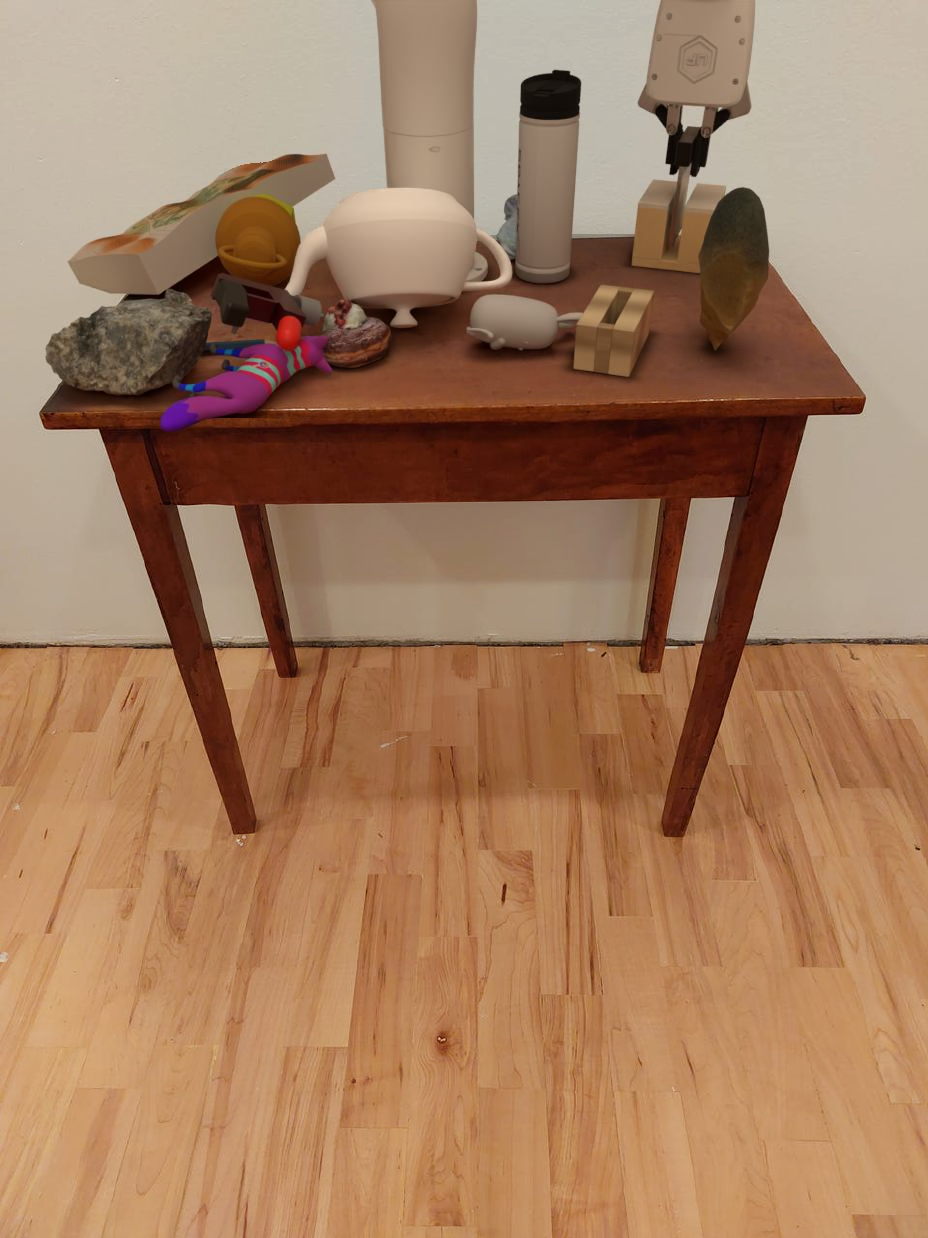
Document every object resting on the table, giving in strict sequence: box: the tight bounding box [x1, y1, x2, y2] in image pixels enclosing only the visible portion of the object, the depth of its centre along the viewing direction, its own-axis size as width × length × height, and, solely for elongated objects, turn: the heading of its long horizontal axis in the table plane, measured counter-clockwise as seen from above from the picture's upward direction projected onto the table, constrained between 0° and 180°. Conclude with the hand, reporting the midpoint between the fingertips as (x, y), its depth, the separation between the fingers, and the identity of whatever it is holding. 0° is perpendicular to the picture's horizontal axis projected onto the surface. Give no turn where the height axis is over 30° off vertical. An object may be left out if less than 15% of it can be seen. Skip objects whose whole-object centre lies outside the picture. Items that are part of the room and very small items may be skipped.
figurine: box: [496, 193, 517, 261], centre depth 111 cm, size 8×12×7 cm, turn 171°
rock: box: [44, 288, 213, 397], centre depth 85 cm, size 14×10×10 cm
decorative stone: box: [698, 186, 770, 351], centre depth 85 cm, size 10×6×15 cm, turn 4°
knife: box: [669, 125, 701, 247], centre depth 104 cm, size 7×2×11 cm, turn 161°
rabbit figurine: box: [465, 293, 584, 351], centre depth 90 cm, size 6×5×12 cm
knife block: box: [572, 284, 655, 378], centre depth 89 cm, size 10×5×4 cm, turn 161°
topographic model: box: [67, 153, 336, 295], centre depth 108 cm, size 30×14×5 cm, turn 145°
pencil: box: [202, 338, 277, 354], centre depth 91 cm, size 1×1×15 cm
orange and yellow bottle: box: [215, 194, 302, 287], centre depth 102 cm, size 9×9×25 cm
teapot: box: [284, 187, 513, 329], centre depth 92 cm, size 25×16×12 cm, turn 104°
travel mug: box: [514, 69, 582, 285], centre depth 99 cm, size 6×7×20 cm
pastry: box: [316, 296, 393, 369], centre depth 89 cm, size 8×8×5 cm
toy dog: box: [159, 335, 333, 432], centre depth 83 cm, size 4×18×10 cm
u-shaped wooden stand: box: [631, 179, 727, 274], centre depth 107 cm, size 9×9×7 cm
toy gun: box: [209, 272, 325, 351], centre depth 84 cm, size 10×12×5 cm
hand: (684, 171), depth 103 cm, fingers closed on knife, 1 cm apart
